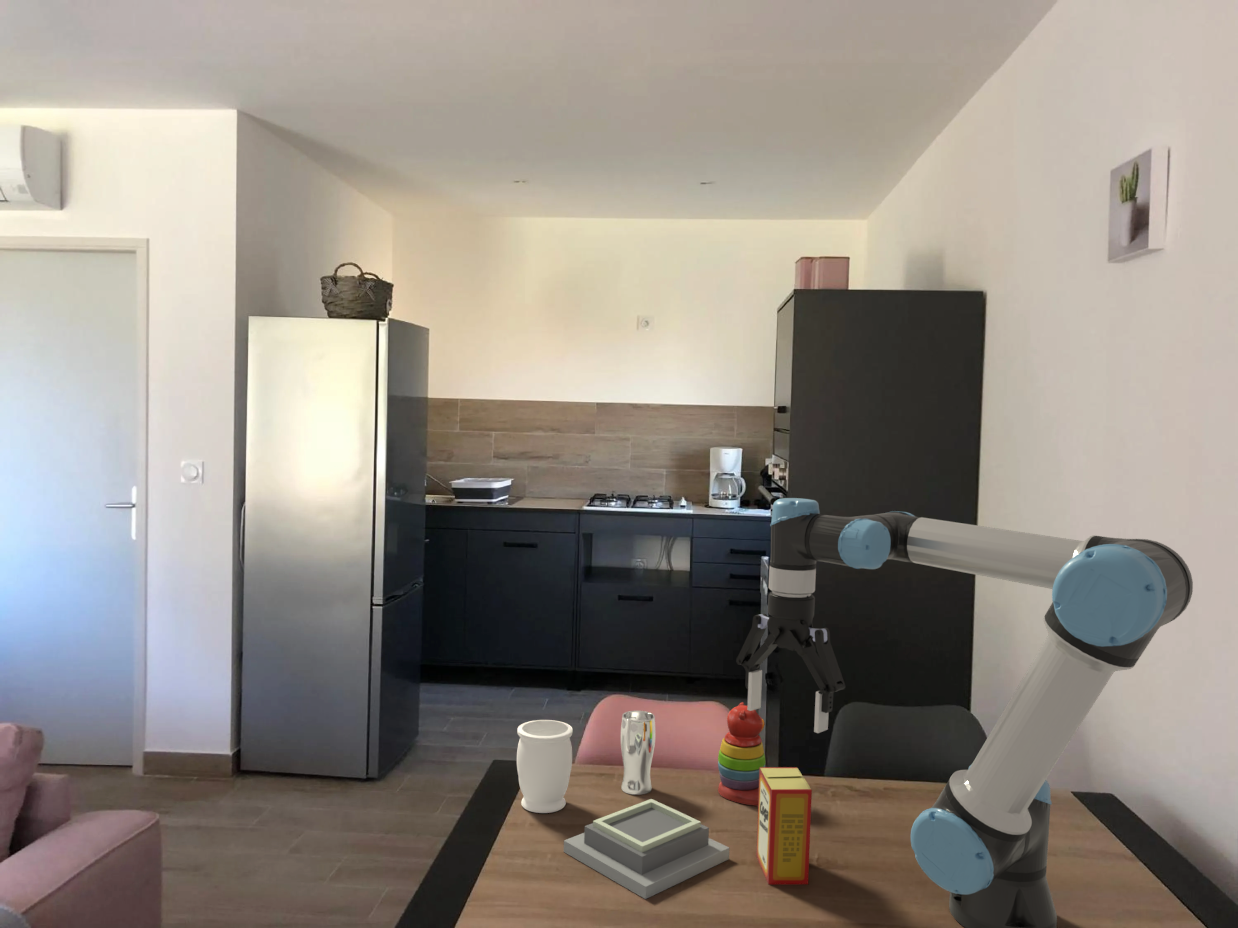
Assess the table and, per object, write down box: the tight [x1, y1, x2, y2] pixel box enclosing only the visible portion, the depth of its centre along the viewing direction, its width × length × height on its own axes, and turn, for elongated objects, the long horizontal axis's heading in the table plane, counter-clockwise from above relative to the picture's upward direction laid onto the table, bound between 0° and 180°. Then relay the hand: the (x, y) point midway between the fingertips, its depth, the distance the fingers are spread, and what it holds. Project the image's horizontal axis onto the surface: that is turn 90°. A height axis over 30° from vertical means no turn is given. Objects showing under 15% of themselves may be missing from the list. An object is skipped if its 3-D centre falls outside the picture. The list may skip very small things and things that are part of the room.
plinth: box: [563, 798, 730, 900], centre depth 157 cm, size 20×20×6 cm
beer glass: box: [620, 710, 656, 796], centre depth 184 cm, size 7×7×15 cm
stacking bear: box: [717, 701, 766, 807], centre depth 184 cm, size 11×10×18 cm
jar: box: [516, 719, 573, 814], centre depth 176 cm, size 11×10×15 cm
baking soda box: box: [755, 766, 813, 885], centre depth 153 cm, size 10×6×16 cm
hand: (786, 719), depth 152 cm, fingers open, 13 cm apart
